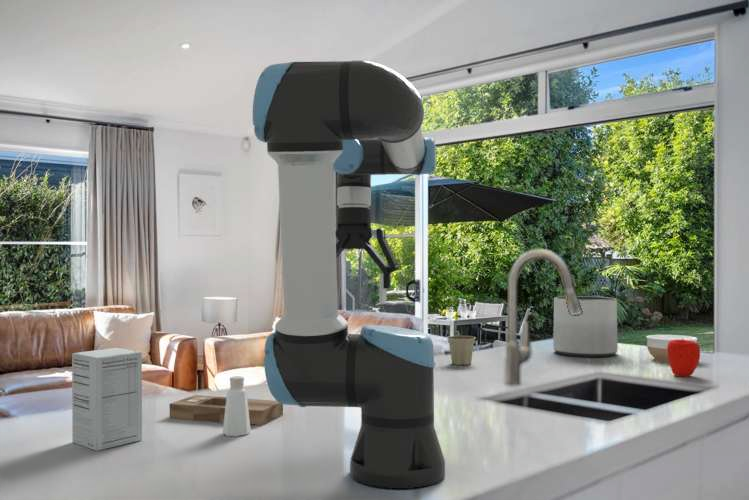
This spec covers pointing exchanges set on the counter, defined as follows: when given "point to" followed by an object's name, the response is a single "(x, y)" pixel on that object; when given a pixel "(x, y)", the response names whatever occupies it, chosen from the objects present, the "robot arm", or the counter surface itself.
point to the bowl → (663, 345)
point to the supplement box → (106, 398)
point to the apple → (683, 357)
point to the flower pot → (461, 349)
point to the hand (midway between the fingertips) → (353, 303)
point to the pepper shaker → (236, 409)
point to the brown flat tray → (223, 409)
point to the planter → (586, 327)
